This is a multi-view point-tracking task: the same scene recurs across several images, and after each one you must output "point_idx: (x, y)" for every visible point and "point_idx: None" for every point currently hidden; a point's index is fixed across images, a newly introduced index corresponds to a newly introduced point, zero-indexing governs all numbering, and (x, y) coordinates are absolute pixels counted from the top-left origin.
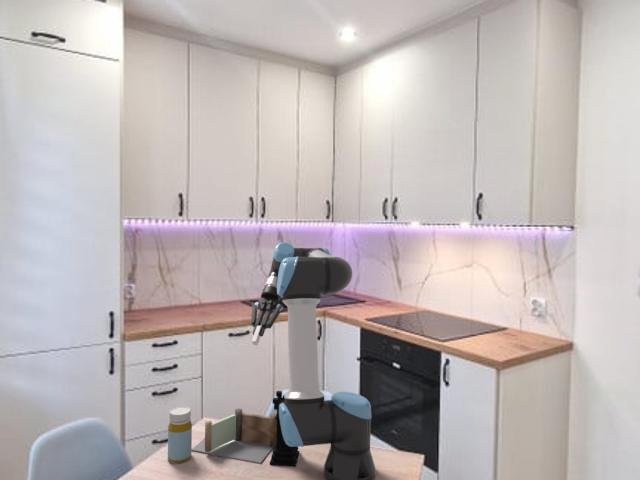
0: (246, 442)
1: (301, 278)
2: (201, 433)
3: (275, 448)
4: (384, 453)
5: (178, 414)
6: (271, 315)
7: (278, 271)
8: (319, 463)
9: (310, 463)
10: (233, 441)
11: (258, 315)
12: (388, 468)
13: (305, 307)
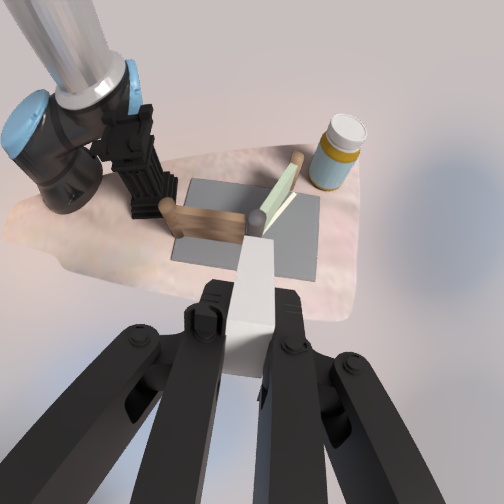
0: None
1: None
2: (333, 258)
3: (166, 178)
4: (25, 244)
5: (342, 114)
6: (79, 440)
7: None
8: (105, 198)
9: (117, 195)
10: None
11: (317, 464)
12: (31, 208)
13: None
